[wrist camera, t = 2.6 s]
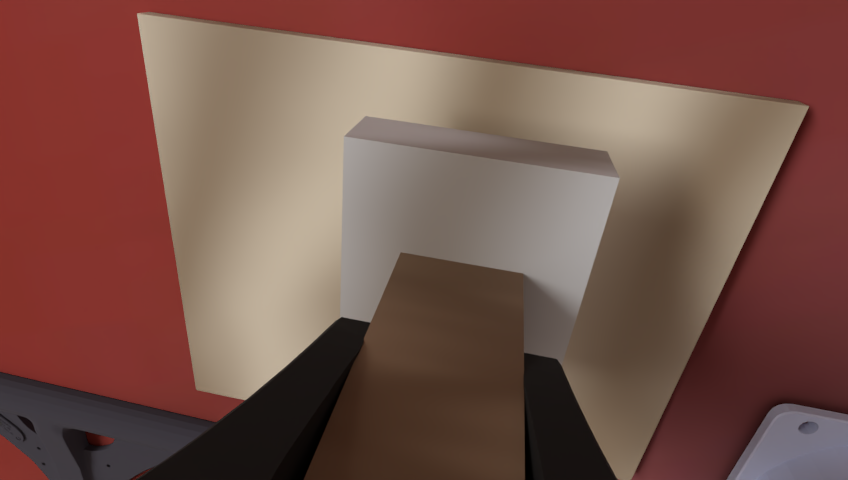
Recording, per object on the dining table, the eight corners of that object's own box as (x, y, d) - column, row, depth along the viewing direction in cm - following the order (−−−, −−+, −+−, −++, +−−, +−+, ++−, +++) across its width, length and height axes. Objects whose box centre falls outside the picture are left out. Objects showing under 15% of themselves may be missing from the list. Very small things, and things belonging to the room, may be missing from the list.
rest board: (797, 101, 11) (809, 106, 11) (627, 469, 18) (630, 481, 17) (149, 12, 13) (136, 13, 13) (203, 380, 19) (196, 389, 19)
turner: (606, 151, 10) (800, 554, 3) (535, 400, 13) (550, 858, 7) (365, 116, 11) (67, 395, 4) (355, 364, 14) (191, 754, 7)
